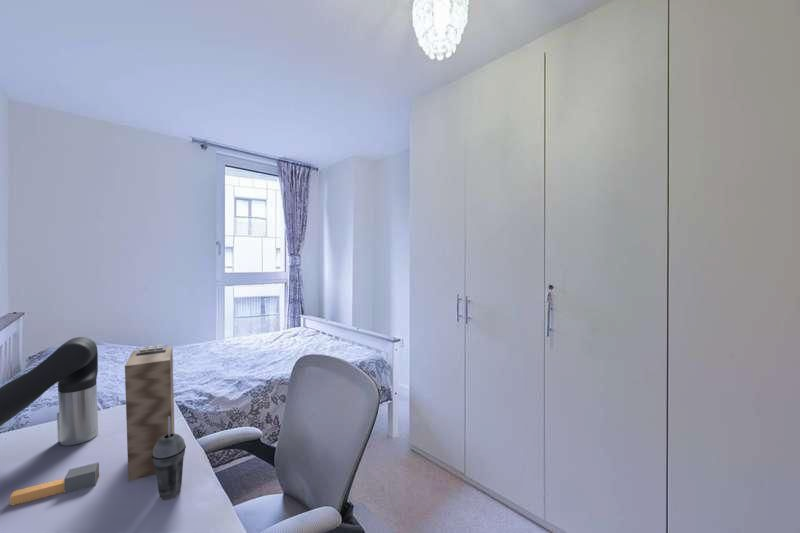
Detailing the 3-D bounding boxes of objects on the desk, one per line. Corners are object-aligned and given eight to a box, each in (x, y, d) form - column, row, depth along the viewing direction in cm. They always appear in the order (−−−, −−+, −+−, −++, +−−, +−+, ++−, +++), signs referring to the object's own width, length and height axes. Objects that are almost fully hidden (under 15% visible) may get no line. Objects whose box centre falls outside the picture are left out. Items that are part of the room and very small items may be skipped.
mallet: (8, 509, 83) (7, 493, 82) (16, 497, 86) (15, 482, 86) (95, 485, 91) (95, 471, 91) (99, 476, 95) (98, 462, 95)
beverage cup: (150, 508, 83) (148, 428, 82) (155, 489, 90) (153, 415, 89) (185, 498, 87) (183, 421, 86) (188, 481, 93) (186, 409, 92)
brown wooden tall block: (128, 481, 92) (124, 362, 91) (136, 451, 106) (133, 346, 104) (172, 469, 98) (169, 356, 96) (174, 442, 111) (172, 342, 109)
